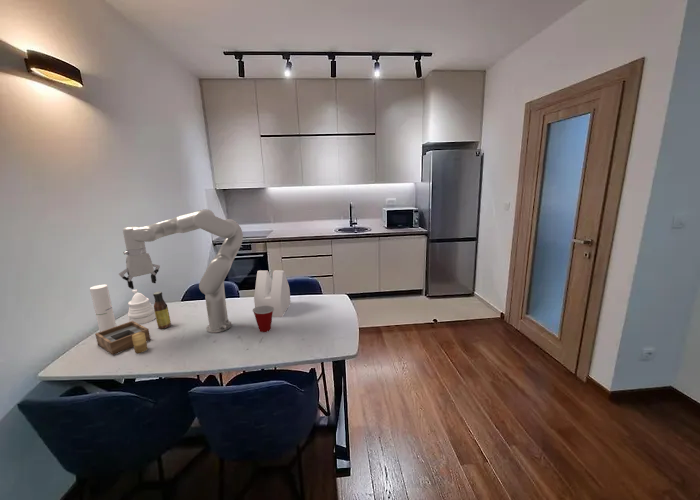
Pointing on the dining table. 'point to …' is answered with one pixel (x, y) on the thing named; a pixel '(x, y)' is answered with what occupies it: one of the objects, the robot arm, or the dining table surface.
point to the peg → (139, 342)
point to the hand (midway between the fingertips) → (143, 285)
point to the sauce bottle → (161, 311)
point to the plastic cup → (263, 317)
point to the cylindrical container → (103, 307)
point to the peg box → (120, 337)
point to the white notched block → (272, 291)
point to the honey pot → (140, 309)
